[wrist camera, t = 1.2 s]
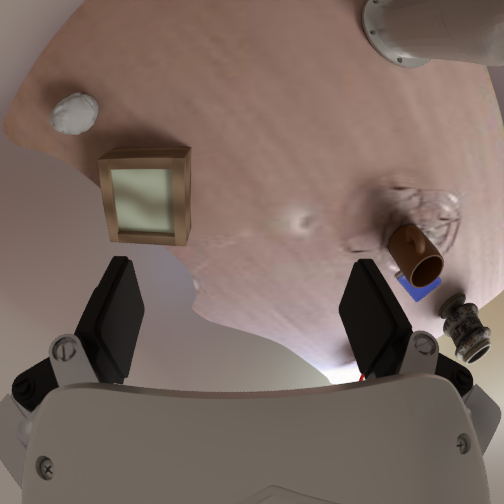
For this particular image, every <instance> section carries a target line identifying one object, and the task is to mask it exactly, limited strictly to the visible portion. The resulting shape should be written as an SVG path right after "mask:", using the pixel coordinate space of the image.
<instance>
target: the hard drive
mask: <svg viewBox="0 0 504 504" xmlns="http://www.w3.org/2000/svg"><path fill="white" fill-rule="evenodd" d="M396 278H397V280H398V281H399V282H400V283H401V284H402V286H403V287H404V288H405V289H406V290H407V292H408V293H409V294H410V295H411V297H412V298H413V299H414V300H415V302H418V301H419V300H421V299H422V298H423V297H425V296H426V295H427V294H428V293H430V292H431V291H432V290H433V289H434V288H436V287H437V286H438V285H439V284H440V283H441V280H440V278H439V277H438V278H437V279H436V280H435V281H434V282H432V283H431V284H430V285H428V286H426V287H423V288H415V287H413V286H411V284H410V283H409V282H408V280H407V279H406V278H405V276H404V274H403V273H402V272H401V273H399V274H398V275H397V276H396Z"/></svg>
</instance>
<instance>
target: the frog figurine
mask: <svg viewBox="0 0 504 504" xmlns="http://www.w3.org/2000/svg"><path fill="white" fill-rule="evenodd" d="M97 115H98V104H97V102H96V101H95V99H94V98H93V97H91V96H89V95H87V94H82V93H74V94H71V95H70V96H69V97H67V98H64V99H63V100H61V101H60V102H59V103H58V104H57V105H56V106H55V108H54V109H53V110H52V112H51V114H50V123H51V125H52V126H53V127H54V129H55V130H56V131H59V132H61V133H63V134H66V135H67V134H71V135H77V134H80V133H81V132H85V131H87V130H88V129H89V128H90V127H91V126H92V125H94V123H95V120H96V118H97Z"/></svg>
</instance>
